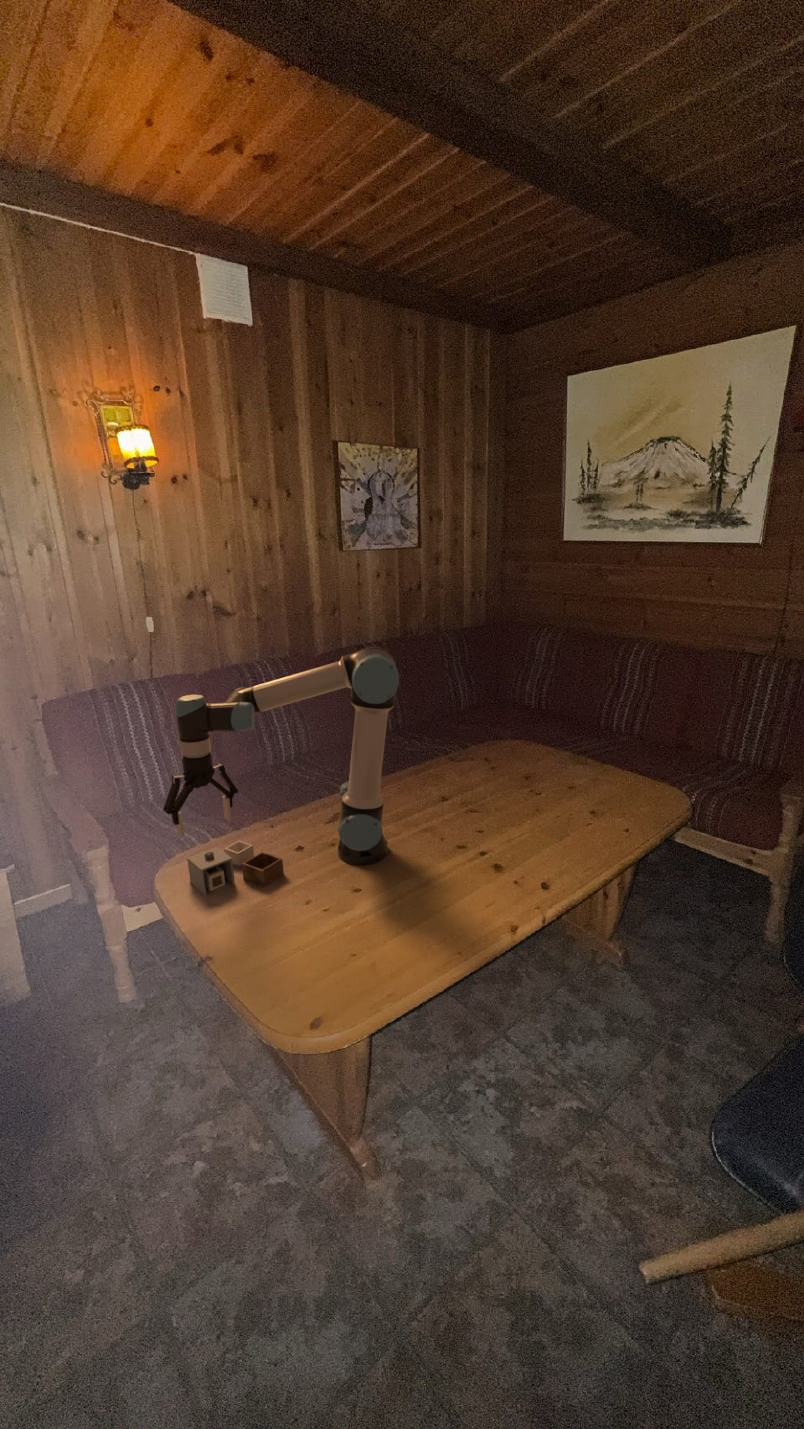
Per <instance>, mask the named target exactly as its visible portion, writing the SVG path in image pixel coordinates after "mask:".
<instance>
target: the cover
mask: <svg viewBox="0 0 804 1429" xmlns="http://www.w3.org/2000/svg"><path fill="white" fill-rule="evenodd" d="M186 859H187V866H188V873H189V874H188V875H189V881H190V882H189V883H190V884H191V885H192V886H193V887H195V889H197V890H198V892H200V893H201V894H202V895H203V896H204V897H205V896H207V890H206V887H205V881H204V874H203V871H204V870H206V869H209V868H212V867H214V866H218V867H220V868H221V869H222V870H223V871H224V878H226V880H228V881H229V882H230V883H231V884H233V885H235V875H234V874H235V872H234V865H233V863H232V858H231V857H230V856H229V855H227V854H226V853H225V852H224V850H222V849H221V848H220V847H217V846H215V847H213V848H210V849H207V850H205V851H201V852H198V853H197V854H193V855H191V856H188V857H187V858H186Z"/></svg>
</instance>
